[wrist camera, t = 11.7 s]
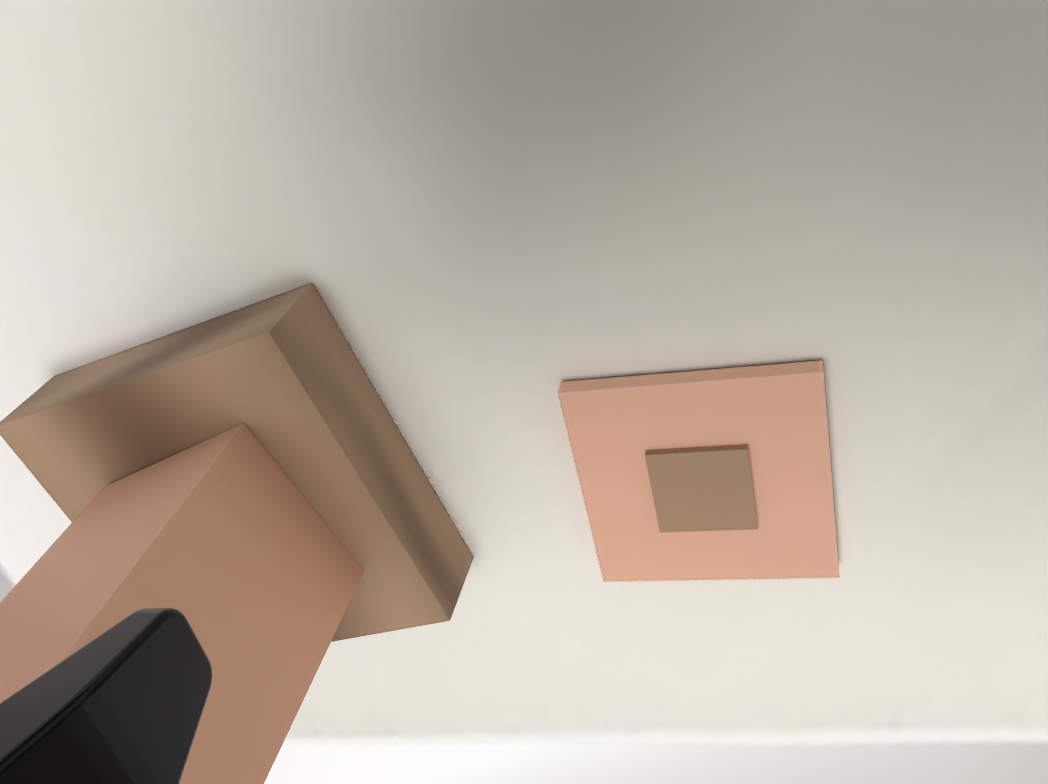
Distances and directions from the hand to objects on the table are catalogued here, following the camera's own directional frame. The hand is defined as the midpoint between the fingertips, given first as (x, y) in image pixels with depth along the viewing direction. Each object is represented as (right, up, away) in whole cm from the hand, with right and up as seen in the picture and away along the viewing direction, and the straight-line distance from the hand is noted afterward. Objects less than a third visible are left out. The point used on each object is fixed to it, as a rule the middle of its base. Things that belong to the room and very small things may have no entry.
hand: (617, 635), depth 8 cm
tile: (+4, 0, +15) cm, 15 cm away
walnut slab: (-8, 0, +18) cm, 20 cm away
